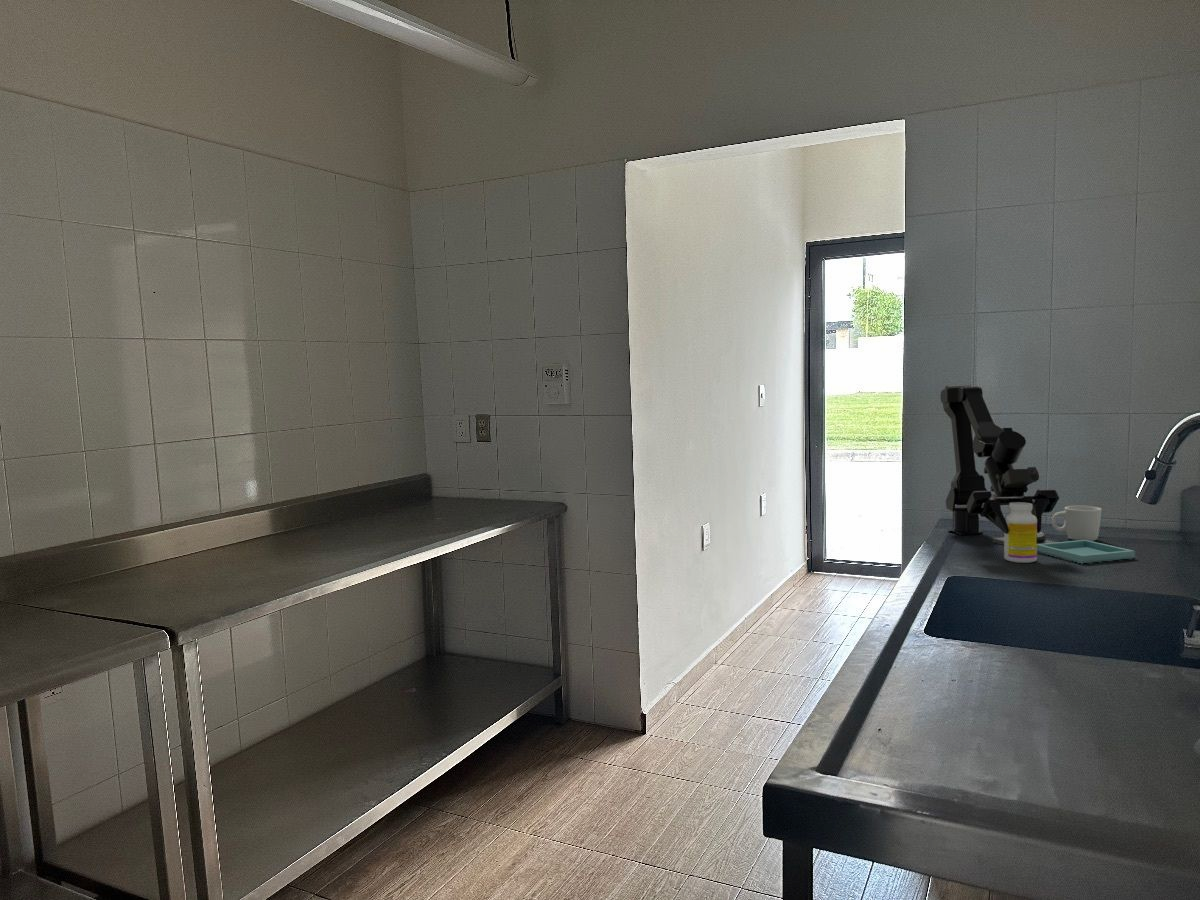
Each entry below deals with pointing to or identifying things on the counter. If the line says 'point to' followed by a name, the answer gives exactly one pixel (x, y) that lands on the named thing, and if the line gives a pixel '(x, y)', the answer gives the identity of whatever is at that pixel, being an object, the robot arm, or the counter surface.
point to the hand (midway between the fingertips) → (1023, 532)
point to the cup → (1080, 522)
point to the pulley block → (1040, 539)
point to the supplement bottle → (1020, 534)
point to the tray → (1084, 551)
